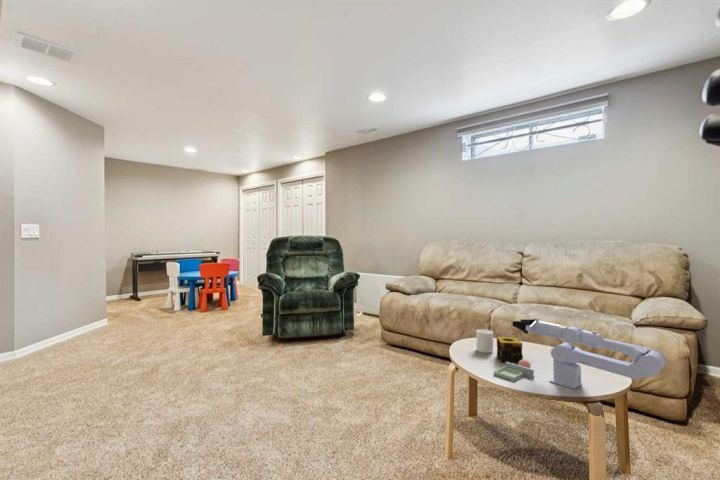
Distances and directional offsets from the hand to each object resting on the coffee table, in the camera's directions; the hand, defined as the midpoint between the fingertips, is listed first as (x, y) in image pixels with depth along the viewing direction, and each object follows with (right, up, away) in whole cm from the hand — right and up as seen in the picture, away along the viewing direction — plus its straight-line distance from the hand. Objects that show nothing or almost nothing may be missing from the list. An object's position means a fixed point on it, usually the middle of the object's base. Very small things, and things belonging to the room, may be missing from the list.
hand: (516, 322), depth 155 cm
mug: (-4, -21, +26) cm, 34 cm away
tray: (-7, -21, -7) cm, 24 cm away
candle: (+2, -21, +11) cm, 24 cm away
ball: (+2, -19, -2) cm, 19 cm away
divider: (-2, -21, -6) cm, 22 cm away
